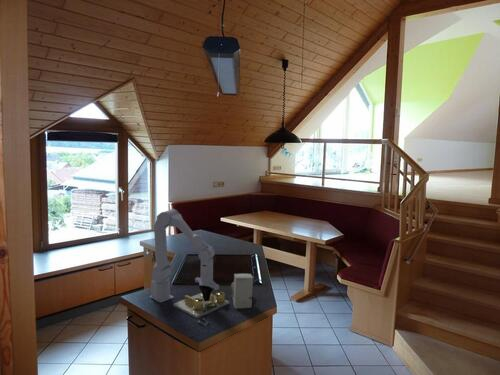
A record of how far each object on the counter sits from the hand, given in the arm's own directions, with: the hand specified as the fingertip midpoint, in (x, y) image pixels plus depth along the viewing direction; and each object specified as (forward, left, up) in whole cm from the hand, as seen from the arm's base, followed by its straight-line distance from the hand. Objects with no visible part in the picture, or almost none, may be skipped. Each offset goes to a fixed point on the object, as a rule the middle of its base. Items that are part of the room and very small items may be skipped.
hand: (206, 300), depth 168 cm
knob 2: (-3, +4, -1) cm, 5 cm away
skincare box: (+12, +12, -3) cm, 17 cm away
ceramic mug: (+5, +17, -3) cm, 18 cm away
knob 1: (-2, -6, -1) cm, 7 cm away
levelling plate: (-2, -2, -2) cm, 3 cm away
